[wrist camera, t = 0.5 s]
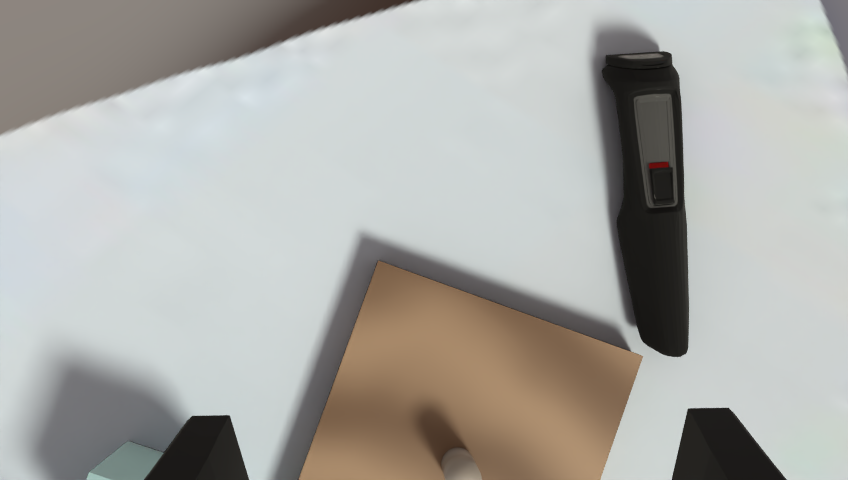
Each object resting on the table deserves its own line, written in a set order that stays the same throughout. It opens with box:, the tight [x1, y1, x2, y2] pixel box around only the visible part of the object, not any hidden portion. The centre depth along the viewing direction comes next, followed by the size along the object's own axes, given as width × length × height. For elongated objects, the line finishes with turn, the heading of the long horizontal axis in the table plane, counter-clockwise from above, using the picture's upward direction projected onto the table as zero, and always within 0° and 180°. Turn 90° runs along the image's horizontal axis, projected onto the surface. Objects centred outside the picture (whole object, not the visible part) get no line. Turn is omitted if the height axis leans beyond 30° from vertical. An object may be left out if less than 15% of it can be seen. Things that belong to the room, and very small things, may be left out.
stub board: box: [298, 260, 643, 480], centre depth 35 cm, size 16×14×4 cm
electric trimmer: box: [602, 51, 689, 357], centre depth 37 cm, size 4×16×3 cm, turn 5°
